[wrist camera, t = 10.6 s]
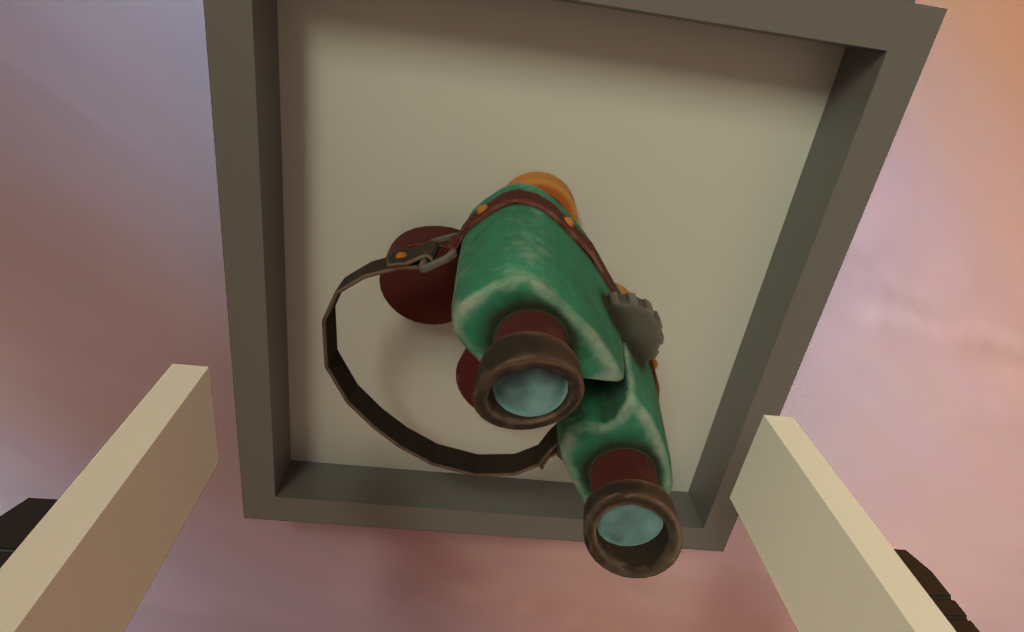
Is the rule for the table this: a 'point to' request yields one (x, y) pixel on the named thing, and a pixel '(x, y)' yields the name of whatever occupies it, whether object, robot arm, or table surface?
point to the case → (600, 213)
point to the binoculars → (539, 361)
